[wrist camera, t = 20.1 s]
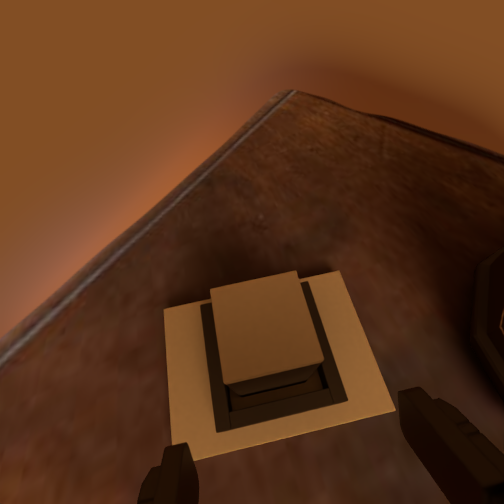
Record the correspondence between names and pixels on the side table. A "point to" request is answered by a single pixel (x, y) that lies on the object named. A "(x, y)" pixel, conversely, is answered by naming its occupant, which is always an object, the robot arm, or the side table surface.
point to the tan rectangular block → (265, 334)
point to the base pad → (275, 401)
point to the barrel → (489, 317)
